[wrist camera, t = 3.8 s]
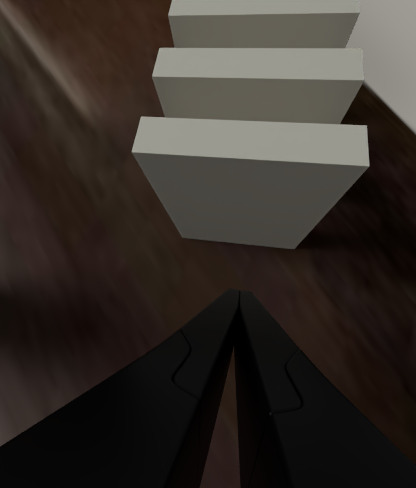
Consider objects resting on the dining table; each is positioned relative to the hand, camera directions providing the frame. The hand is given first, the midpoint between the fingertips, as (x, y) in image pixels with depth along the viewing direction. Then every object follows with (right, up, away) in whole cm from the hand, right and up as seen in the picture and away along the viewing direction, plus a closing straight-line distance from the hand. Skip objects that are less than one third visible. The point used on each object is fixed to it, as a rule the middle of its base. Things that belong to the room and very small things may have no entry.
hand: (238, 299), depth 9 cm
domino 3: (+3, +12, +16) cm, 20 cm away
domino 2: (+2, +7, +14) cm, 16 cm away
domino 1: (+2, +3, +13) cm, 13 cm away
